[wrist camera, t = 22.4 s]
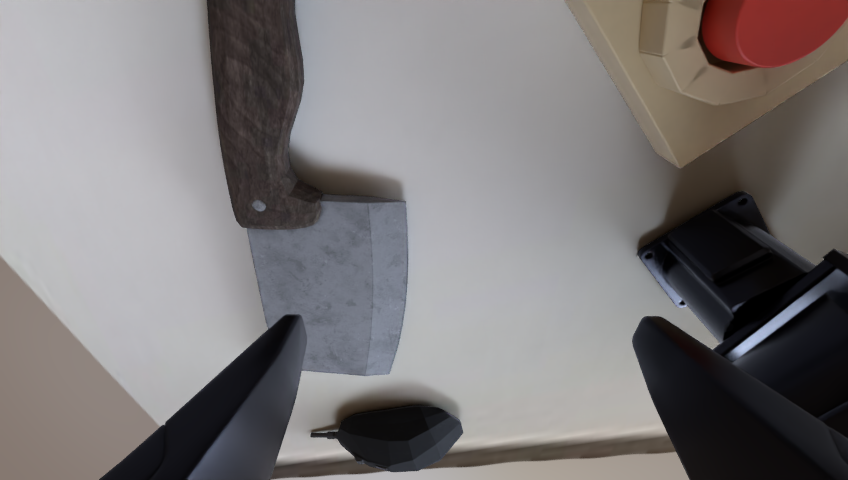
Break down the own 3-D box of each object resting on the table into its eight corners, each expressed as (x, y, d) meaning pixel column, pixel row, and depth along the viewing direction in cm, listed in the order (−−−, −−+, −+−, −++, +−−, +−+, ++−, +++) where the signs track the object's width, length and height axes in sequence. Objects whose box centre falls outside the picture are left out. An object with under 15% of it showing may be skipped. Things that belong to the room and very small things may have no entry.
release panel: (827, 37, 16) (931, 46, 13) (655, 153, 19) (704, 185, 16) (751, -241, 12) (880, -336, 8) (544, -32, 15) (579, -42, 11)
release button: (827, 7, 13) (879, 7, 11) (720, 82, 14) (755, 92, 12) (801, -93, 11) (857, -107, 10) (685, 2, 12) (719, 2, 11)
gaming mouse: (299, 415, 33) (285, 461, 30) (456, 398, 32) (460, 444, 28) (322, 449, 37) (312, 493, 33) (465, 434, 35) (469, 479, 32)
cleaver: (161, -148, 13) (119, -171, 11) (431, -121, 13) (432, -139, 11) (284, 364, 29) (275, 387, 28) (402, 369, 30) (400, 392, 28)
